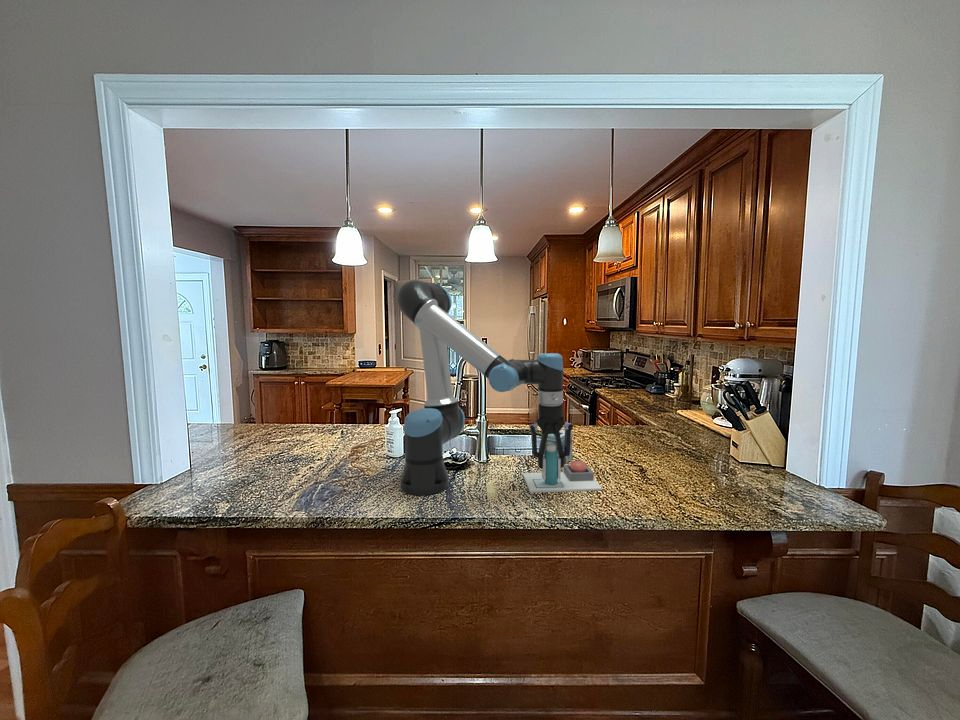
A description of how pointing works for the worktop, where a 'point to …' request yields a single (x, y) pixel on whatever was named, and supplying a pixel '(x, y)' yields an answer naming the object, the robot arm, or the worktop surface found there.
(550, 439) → the light bulb box
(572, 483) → the page board
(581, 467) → the button
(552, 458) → the teal bottle
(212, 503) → the worktop surface
